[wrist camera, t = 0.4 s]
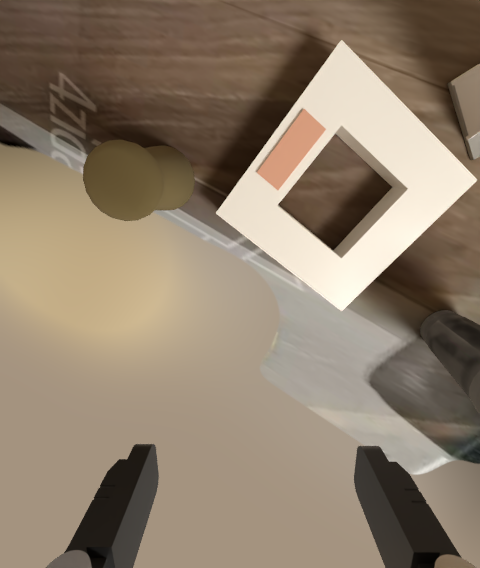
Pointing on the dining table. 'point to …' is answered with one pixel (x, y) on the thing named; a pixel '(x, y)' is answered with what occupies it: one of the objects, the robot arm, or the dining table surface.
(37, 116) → the dining table surface
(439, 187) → the hole board
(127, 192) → the cork
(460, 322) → the beverage cup
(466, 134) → the skyscraper
